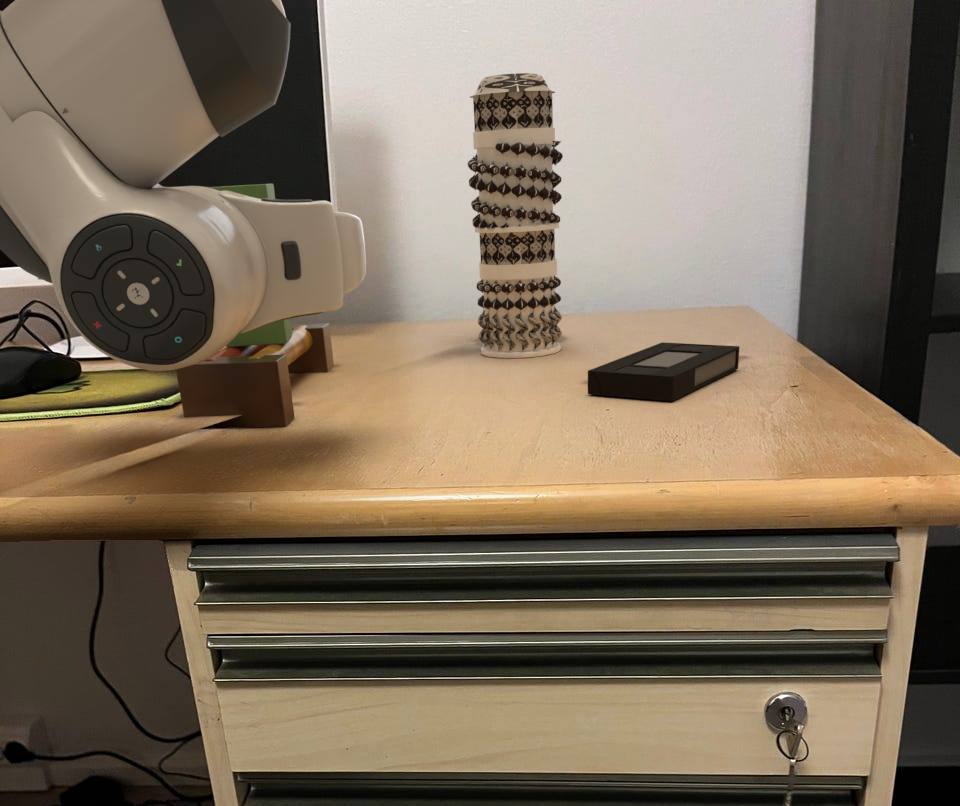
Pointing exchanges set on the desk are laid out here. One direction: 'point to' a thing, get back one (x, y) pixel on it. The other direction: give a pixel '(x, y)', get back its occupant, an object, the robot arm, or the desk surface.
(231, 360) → the rack
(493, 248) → the decorative candle
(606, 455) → the desk surface
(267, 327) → the bar
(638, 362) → the vhs tape
